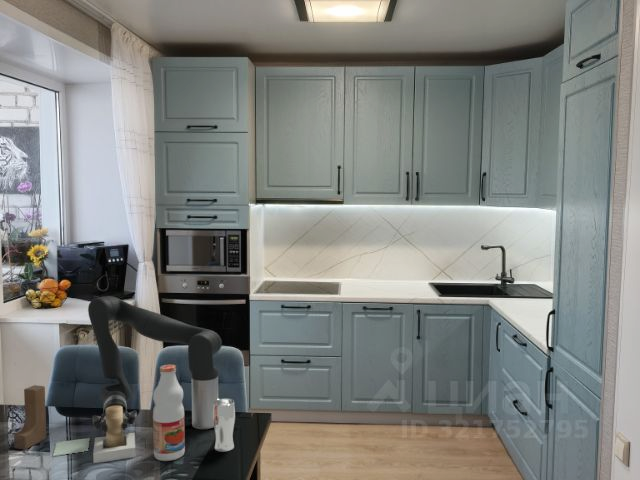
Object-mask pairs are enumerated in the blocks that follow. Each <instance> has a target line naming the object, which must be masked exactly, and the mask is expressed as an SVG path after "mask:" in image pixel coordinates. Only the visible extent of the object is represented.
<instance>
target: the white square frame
mask: <svg viewBox="0 0 640 480" xmlns="http://www.w3.org/2000/svg"><path fill="white" fill-rule="evenodd" d="M135 434H136V433H135V432H129V433H128V432H127V433H123V446H119V447H112V448H107V445H106V435H105V436H99V437H95V438H94V443H93V444H94V445H93V452H92V455H93V457H92V458H93V464H98V463H104V462H105V463H106V462H111V461H118V460H125V459H131V458H136V435H135Z"/></svg>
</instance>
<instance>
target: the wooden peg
mask: <svg viewBox="0 0 640 480" xmlns="http://www.w3.org/2000/svg"><path fill="white" fill-rule="evenodd" d="M123 434H124V430H123V407H122V406H110V407H108V408H106V432H105V436H106V445H107V448H112V447H119V446H123Z"/></svg>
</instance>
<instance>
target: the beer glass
mask: <svg viewBox="0 0 640 480" xmlns="http://www.w3.org/2000/svg"><path fill="white" fill-rule="evenodd" d="M235 421H236V409H235V400H234V399H232V398H226V397H225V398H219V399H218V400H216V401H214V405H213V422H214V427H213V428H214V432H215V444H214V450H215V451H217V452H219V453H220V452H223V453H225V452H229V451H231V450H234V448H235V444H234V439H233V435H234V429H235V428H234V427H235Z"/></svg>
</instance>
